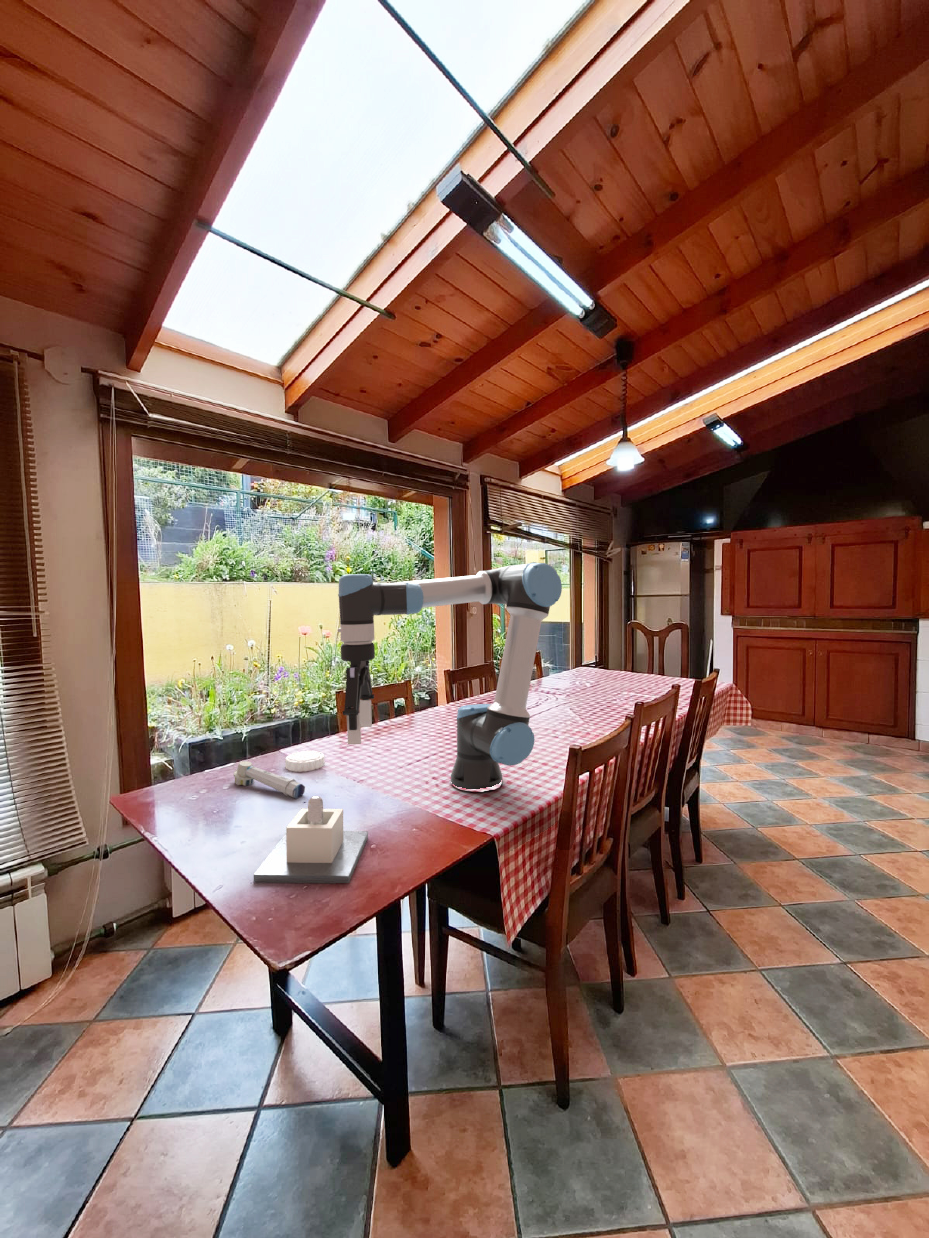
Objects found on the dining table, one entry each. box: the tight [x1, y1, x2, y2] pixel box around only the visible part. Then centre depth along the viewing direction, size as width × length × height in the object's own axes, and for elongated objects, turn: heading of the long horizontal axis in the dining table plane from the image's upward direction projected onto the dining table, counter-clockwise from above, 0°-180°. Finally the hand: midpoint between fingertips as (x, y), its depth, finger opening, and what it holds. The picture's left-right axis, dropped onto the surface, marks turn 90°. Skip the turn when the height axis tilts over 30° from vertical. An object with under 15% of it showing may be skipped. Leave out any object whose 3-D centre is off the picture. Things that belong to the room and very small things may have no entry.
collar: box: [285, 808, 344, 863], centre depth 103 cm, size 9×9×7 cm
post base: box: [253, 795, 369, 884], centre depth 103 cm, size 18×18×13 cm
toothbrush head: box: [233, 760, 306, 799], centre depth 140 cm, size 5×7×25 cm
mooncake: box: [284, 750, 325, 773], centre depth 160 cm, size 12×12×4 cm
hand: (360, 734), depth 114 cm, fingers open, 13 cm apart
